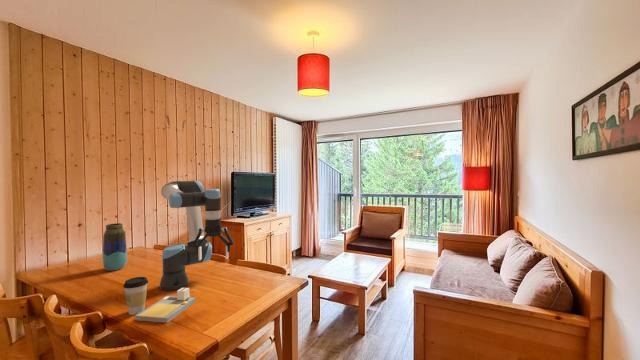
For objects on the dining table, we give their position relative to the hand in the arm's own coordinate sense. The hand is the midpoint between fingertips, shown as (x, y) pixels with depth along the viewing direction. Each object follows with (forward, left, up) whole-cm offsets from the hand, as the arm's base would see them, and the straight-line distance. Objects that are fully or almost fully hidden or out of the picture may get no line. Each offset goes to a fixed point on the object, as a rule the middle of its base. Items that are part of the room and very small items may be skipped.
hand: (213, 259), depth 142 cm
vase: (-94, +33, -21) cm, 102 cm away
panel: (-15, -15, -20) cm, 30 cm away
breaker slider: (-12, -8, -18) cm, 23 cm away
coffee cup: (-29, -18, -21) cm, 40 cm away
